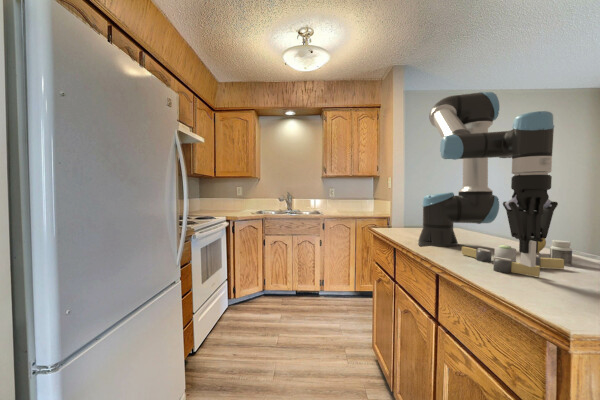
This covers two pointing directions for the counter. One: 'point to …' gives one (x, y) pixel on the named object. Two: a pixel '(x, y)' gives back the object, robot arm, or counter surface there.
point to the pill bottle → (561, 251)
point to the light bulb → (541, 246)
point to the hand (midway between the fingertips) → (527, 265)
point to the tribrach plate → (505, 252)
